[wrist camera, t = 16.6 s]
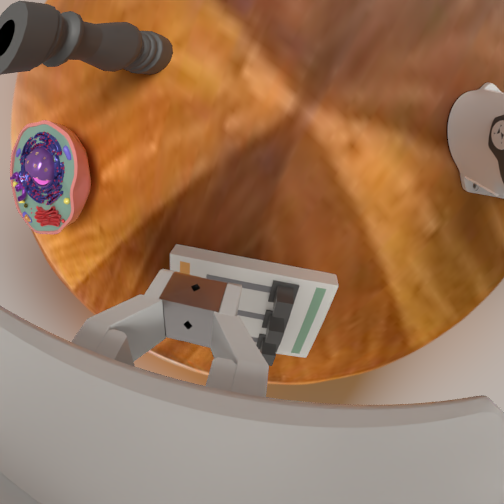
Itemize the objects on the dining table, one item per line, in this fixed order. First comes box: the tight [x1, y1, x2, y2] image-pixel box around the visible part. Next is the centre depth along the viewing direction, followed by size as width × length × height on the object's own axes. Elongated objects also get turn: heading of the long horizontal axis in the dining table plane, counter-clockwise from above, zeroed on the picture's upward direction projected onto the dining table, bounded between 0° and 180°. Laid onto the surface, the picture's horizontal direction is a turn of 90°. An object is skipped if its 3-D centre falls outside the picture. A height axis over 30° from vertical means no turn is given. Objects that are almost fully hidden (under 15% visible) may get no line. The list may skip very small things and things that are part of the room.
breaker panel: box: [170, 244, 339, 358], centre depth 47 cm, size 26×18×3 cm
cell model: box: [10, 120, 91, 234], centre depth 33 cm, size 17×20×11 cm
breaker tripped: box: [262, 310, 290, 345], centre depth 44 cm, size 4×4×4 cm
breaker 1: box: [256, 334, 279, 366], centre depth 47 cm, size 4×4×4 cm
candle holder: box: [0, 1, 173, 75], centre depth 18 cm, size 6×6×25 cm
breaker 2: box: [268, 280, 299, 319], centre depth 41 cm, size 4×4×4 cm
